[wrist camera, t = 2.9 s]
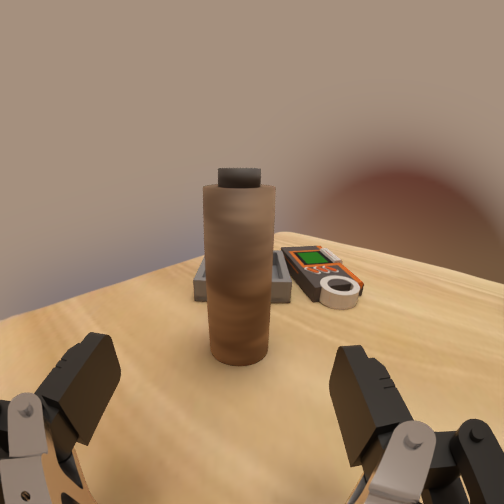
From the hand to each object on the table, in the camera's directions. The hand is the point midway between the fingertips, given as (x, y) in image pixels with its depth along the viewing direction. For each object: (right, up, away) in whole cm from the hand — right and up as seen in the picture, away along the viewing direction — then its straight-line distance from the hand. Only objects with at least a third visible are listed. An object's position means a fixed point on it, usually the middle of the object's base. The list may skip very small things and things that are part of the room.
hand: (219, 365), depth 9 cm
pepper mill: (0, -4, +13) cm, 14 cm away
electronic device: (+10, 0, +26) cm, 28 cm away
